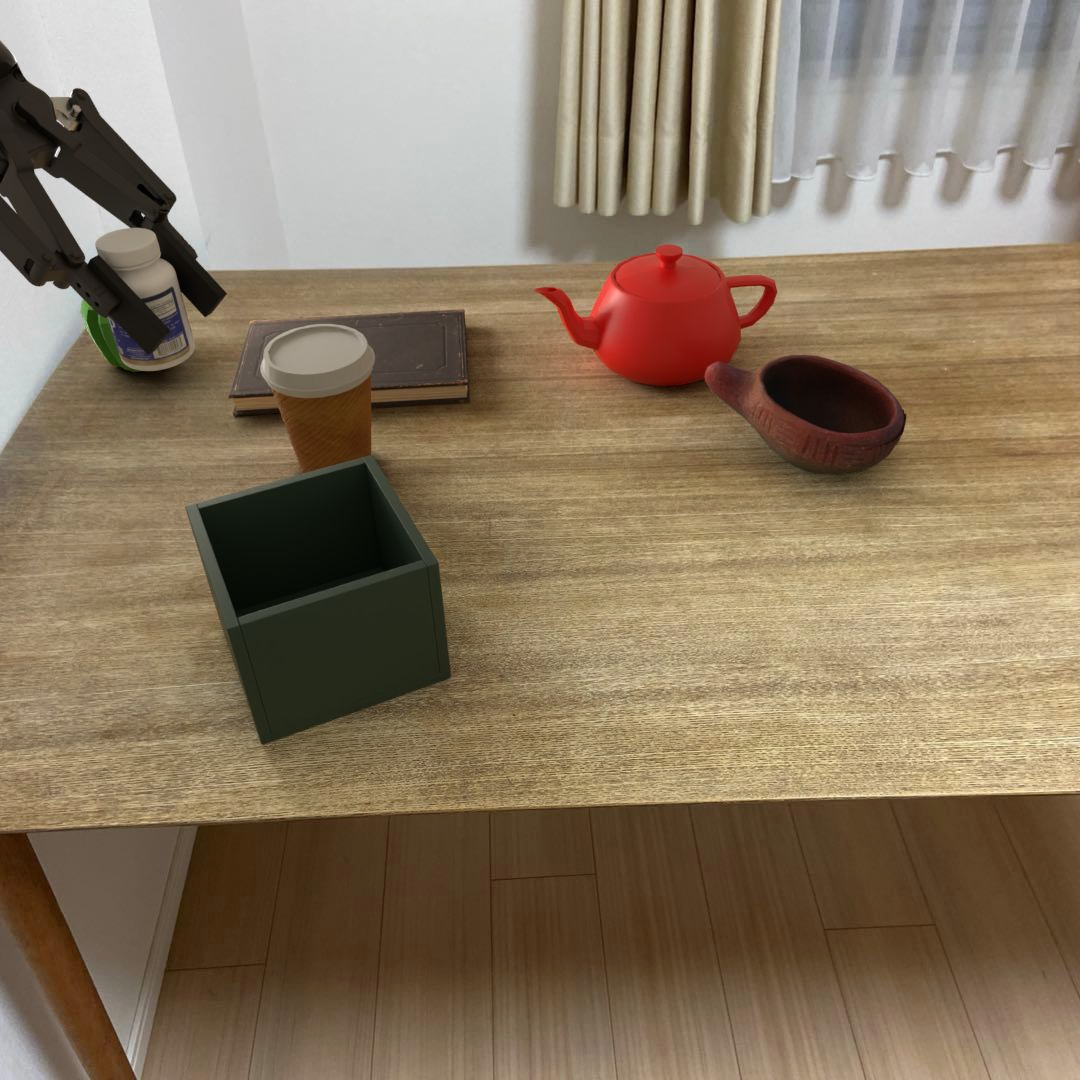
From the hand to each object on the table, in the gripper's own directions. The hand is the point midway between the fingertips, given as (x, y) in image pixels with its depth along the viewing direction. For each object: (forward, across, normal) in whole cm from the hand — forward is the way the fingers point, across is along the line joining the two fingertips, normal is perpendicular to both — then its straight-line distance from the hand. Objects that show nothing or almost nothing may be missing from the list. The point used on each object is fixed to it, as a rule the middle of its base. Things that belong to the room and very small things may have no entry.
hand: (188, 323), depth 71 cm
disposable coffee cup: (+15, -12, -14) cm, 24 cm away
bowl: (+42, -30, +13) cm, 53 cm away
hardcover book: (+9, -28, -19) cm, 35 cm away
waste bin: (+24, +7, -5) cm, 25 cm away
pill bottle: (0, 0, -5) cm, 5 cm away
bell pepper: (-6, -20, -35) cm, 41 cm away
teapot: (+29, -41, +1) cm, 50 cm away
